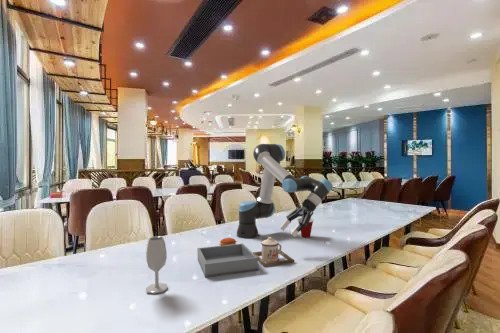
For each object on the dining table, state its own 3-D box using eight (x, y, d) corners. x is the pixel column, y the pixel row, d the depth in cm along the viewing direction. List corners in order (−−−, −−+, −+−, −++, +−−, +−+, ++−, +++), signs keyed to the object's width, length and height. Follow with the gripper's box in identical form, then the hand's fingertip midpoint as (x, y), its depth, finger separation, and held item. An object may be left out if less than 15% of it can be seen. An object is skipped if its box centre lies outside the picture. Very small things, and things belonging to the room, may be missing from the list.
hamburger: (222, 246, 175) (222, 235, 175) (237, 247, 173) (237, 236, 173) (217, 251, 166) (217, 240, 166) (234, 252, 164) (234, 240, 164)
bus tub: (197, 259, 153) (197, 248, 153) (242, 254, 161) (242, 243, 160) (205, 277, 129) (204, 264, 129) (257, 270, 137) (257, 257, 137)
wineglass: (148, 285, 122) (147, 235, 121) (170, 284, 122) (169, 235, 122) (142, 295, 113) (141, 241, 112) (165, 293, 114) (164, 240, 113)
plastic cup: (296, 238, 193) (295, 220, 192) (299, 234, 203) (299, 217, 202) (312, 239, 189) (312, 221, 188) (315, 235, 199) (315, 218, 198)
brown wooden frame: (252, 255, 159) (252, 252, 159) (279, 251, 164) (279, 249, 164) (263, 266, 141) (263, 263, 141) (294, 262, 146) (294, 259, 146)
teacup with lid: (268, 263, 146) (268, 240, 145) (258, 258, 153) (257, 236, 153) (286, 259, 152) (286, 237, 152) (276, 254, 160) (275, 233, 159)
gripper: (296, 195, 170) (273, 223, 166) (319, 201, 146) (292, 233, 142) (304, 204, 172) (281, 231, 168) (328, 210, 148) (302, 242, 144)
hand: (286, 232), depth 155 cm, fingers open, 13 cm apart
